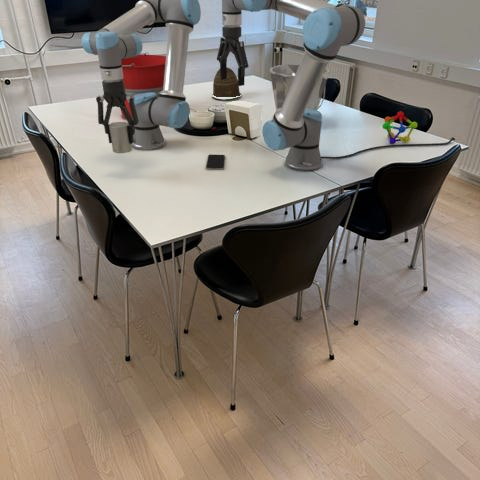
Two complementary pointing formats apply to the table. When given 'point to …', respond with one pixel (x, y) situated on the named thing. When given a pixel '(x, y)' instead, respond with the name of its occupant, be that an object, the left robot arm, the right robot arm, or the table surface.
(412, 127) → the educational toy
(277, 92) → the bucket
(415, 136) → the table surface
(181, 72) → the left robot arm
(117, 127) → the can
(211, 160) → the smartphone
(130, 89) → the bucket
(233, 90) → the bell
